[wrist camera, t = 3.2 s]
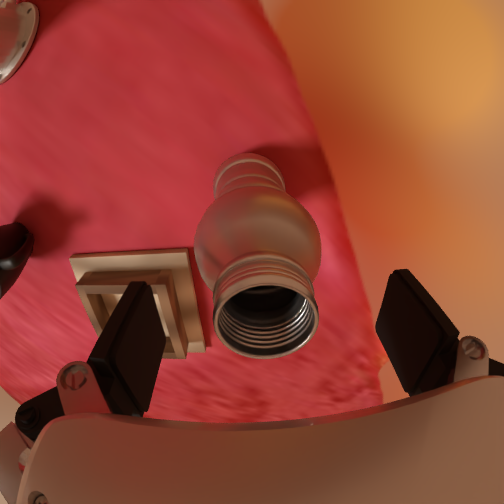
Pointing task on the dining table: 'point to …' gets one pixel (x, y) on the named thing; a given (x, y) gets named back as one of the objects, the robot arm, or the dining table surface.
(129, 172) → the dining table surface
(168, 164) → the dining table surface
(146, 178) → the dining table surface
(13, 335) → the dining table surface
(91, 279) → the bottle stand
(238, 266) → the plastic bottle
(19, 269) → the mug
